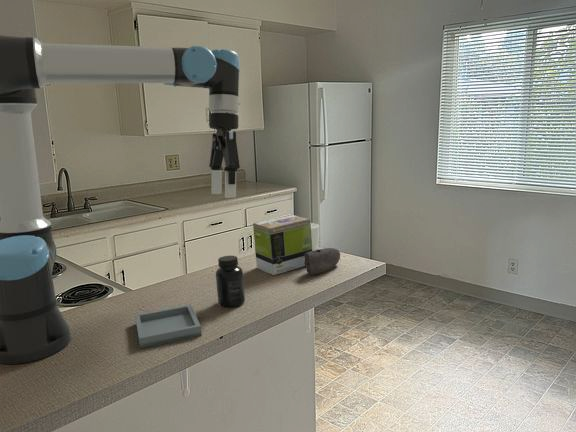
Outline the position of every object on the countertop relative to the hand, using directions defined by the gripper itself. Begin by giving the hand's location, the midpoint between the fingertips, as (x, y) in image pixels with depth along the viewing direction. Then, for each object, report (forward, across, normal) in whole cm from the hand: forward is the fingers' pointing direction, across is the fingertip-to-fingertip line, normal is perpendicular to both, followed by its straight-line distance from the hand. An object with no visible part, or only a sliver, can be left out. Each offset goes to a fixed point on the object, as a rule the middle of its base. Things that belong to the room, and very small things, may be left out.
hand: (223, 195), depth 124 cm
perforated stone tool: (+23, +3, -32) cm, 39 cm away
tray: (+29, -14, +17) cm, 37 cm away
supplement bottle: (+27, -7, 0) cm, 28 cm away
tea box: (+23, +12, -23) cm, 35 cm away
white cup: (+21, +18, -34) cm, 44 cm away
